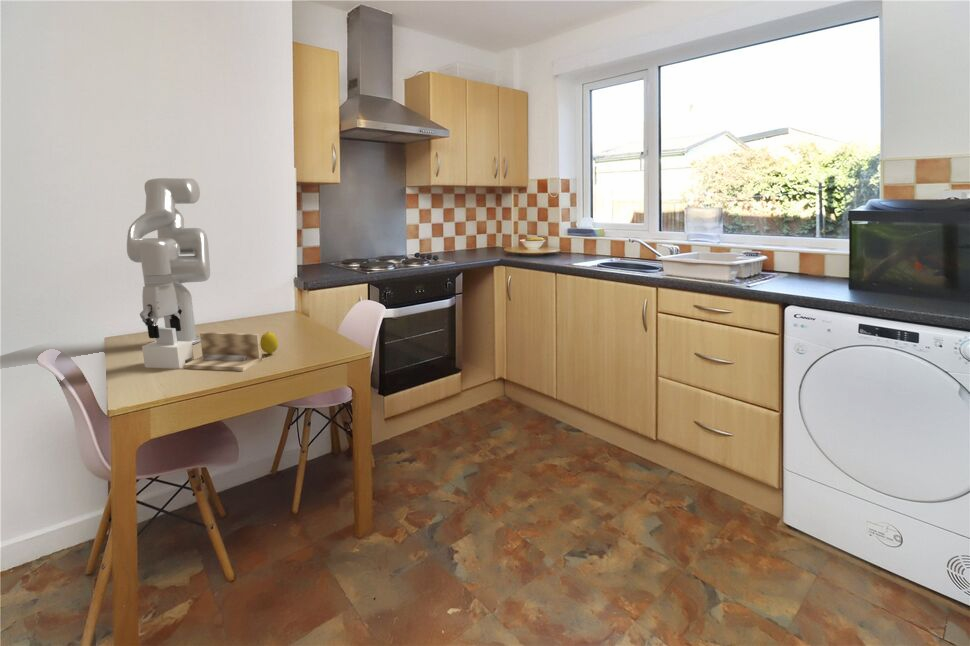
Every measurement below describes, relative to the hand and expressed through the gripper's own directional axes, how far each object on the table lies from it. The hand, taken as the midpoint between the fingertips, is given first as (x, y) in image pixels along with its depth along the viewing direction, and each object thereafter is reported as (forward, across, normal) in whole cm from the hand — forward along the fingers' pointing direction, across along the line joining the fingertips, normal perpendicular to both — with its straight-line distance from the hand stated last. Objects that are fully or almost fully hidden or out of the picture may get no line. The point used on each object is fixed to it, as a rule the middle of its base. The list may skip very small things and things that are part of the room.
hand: (165, 334), depth 172 cm
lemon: (+10, -16, +26) cm, 32 cm away
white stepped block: (+10, -1, 0) cm, 10 cm away
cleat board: (+10, -3, +17) cm, 20 cm away
